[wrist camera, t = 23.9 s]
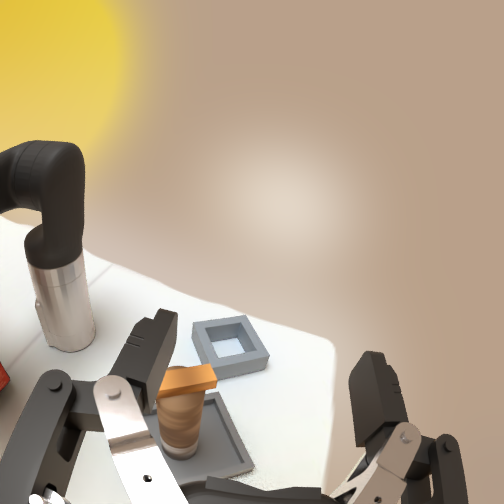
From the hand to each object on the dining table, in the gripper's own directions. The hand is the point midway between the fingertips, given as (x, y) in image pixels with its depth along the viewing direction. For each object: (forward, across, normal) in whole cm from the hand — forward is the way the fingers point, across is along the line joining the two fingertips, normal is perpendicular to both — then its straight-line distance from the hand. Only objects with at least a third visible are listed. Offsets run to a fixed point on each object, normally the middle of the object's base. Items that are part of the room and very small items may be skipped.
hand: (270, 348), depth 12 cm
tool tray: (+7, +5, +32) cm, 33 cm away
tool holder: (+26, +1, +32) cm, 41 cm away
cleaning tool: (+7, +5, +31) cm, 32 cm away
